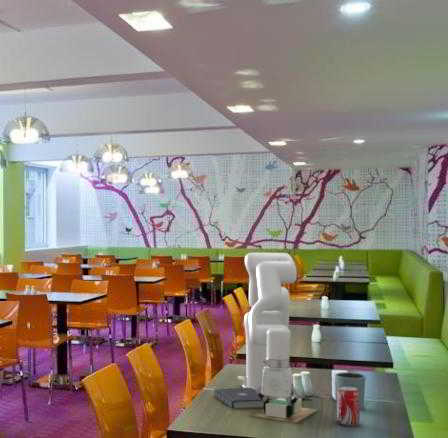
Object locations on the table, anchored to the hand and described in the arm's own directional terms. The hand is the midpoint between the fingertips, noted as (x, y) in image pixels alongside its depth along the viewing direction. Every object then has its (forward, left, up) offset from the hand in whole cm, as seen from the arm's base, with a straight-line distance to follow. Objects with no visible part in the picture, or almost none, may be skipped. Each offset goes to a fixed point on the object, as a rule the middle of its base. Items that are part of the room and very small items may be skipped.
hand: (278, 414), depth 269 cm
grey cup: (+16, +30, -1) cm, 34 cm away
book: (-19, +14, -1) cm, 23 cm away
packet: (0, +6, 0) cm, 6 cm away
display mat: (0, +7, -1) cm, 7 cm away
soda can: (+22, +6, -1) cm, 23 cm away
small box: (+9, +42, -1) cm, 42 cm away
